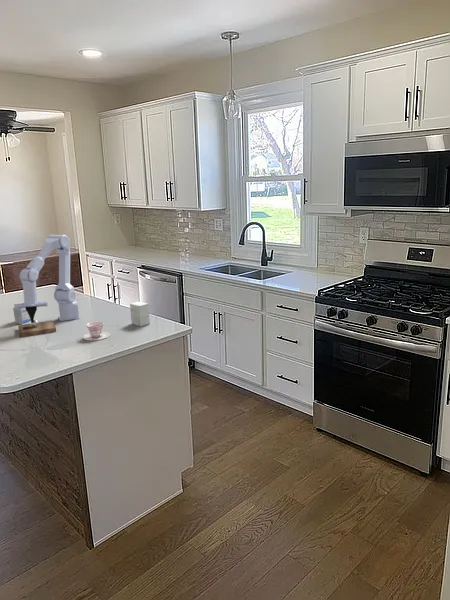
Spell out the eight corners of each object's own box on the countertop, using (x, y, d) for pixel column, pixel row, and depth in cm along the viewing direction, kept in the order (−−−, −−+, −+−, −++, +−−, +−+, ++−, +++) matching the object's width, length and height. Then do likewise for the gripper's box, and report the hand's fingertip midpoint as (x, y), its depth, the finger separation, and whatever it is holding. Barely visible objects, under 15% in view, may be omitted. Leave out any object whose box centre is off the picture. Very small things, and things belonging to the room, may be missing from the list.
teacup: (82, 335, 216) (80, 322, 215) (108, 331, 220) (107, 319, 219) (84, 342, 205) (82, 329, 204) (111, 338, 209) (110, 325, 208)
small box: (150, 324, 230) (148, 303, 227) (141, 326, 226) (139, 305, 223) (140, 321, 235) (138, 301, 232) (131, 323, 231) (129, 303, 228)
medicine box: (22, 324, 236) (20, 307, 234) (15, 324, 237) (12, 307, 235) (32, 319, 243) (29, 303, 241) (24, 319, 244) (22, 303, 242)
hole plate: (53, 324, 234) (52, 320, 234) (56, 331, 222) (55, 327, 221) (18, 329, 227) (18, 325, 227) (20, 337, 215) (19, 333, 215)
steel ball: (32, 318, 224) (28, 324, 223) (35, 319, 221) (31, 325, 220) (38, 321, 226) (34, 327, 225) (41, 322, 223) (37, 329, 222)
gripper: (13, 296, 213) (16, 325, 215) (47, 294, 219) (49, 322, 222) (13, 294, 219) (15, 322, 222) (45, 292, 225) (47, 319, 228)
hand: (32, 322), depth 222 cm, fingers closed, pressing on steel ball
